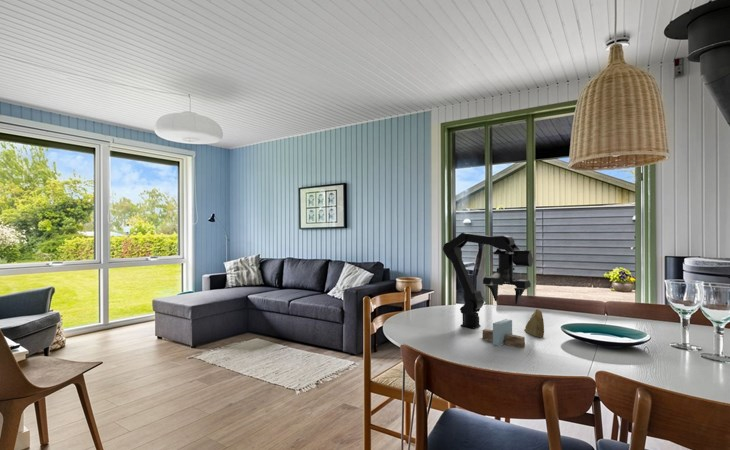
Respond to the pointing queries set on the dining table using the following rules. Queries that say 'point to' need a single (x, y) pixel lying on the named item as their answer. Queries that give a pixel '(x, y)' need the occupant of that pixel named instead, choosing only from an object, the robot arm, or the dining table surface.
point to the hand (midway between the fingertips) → (506, 302)
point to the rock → (535, 324)
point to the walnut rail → (510, 338)
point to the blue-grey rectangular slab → (501, 331)
